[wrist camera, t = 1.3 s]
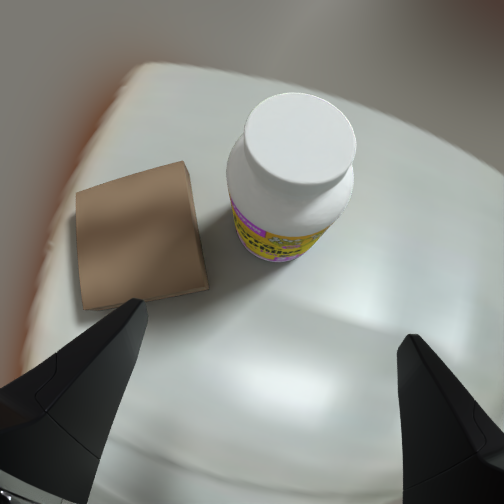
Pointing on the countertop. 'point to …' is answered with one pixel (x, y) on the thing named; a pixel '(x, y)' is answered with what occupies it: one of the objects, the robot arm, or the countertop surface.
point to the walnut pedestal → (139, 239)
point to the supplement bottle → (290, 174)
